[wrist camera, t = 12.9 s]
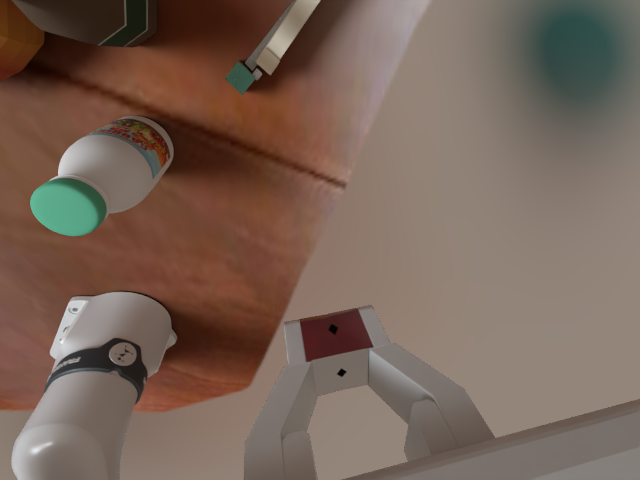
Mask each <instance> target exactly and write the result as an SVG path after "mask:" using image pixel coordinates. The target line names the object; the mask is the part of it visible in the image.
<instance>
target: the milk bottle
mask: <svg viewBox="0 0 640 480" xmlns="http://www.w3.org/2000/svg"><path fill="white" fill-rule="evenodd" d="M173 155H174V149H173V144H172V141H171V139H170V137H169V136H168V134H167V133H166V131H165V130H164V129H163V128H162V127H161V126H160V125H158V124H157V123H155V122H154V121H152V120H150V119H148V118H145V117H141V116H126V117H122V118H120V119H117V120H115V121H113V122H111V123H109V124H107V125H105V126H103V127H101V128H99V129H97V130H96V131H94V132H92V133H90V134H88V135H86V136H84V137H83V138H81V139H79V140H78V141H76V142H75V143H74V144H72V145H71V146H70V147H69V148H68V149H67V150H66V152H65V153H64V155H63V157H62V158H61V161H60V164H59V170H58V176H57V177H54V178H52V179H51V180H49V181H48V182H46V183H44V184H43V185H41V186H40V187H39V188H37V189H36V190H35V191H34V193H33V195H32V197H31V201H30V205H31V209H32V212H33V214H34V215H35V217H36V218H37V219H38V220H39V221H40V222H41V223H42V224H43V225H44V226H46V227H47V228H49V229H50V230H52V231H55V232H57V233H60V234H63V235H68V236H81V235H85V234H88V233H90V232H92V231H94V230H95V229H97V228H98V227H99V226H100V225H101V223H102V222H103V221H104V220H105V219H106V218H107V216H108V214H109V213H117V212H121V211H125V210H127V209H130V208H132V207H134V206H135V205H137V204H138V203H140V202H141V201H142V200H143V199H144V198H145V197H146V196H147V195H148V194H149V193H150V191H151V190H152V189H153V187H154V186H155V185H156V184H157V182H158V181H159V180H160V178H161V177H162V175H163V174H164V173H165V171H166V170H167V168H168V167H169V166H170V164H171V162H172V160H173Z"/></svg>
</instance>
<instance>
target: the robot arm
mask: <svg viewBox="0 0 640 480" xmlns="http://www.w3.org/2000/svg"><path fill="white" fill-rule="evenodd" d="M299 321H300V322H299ZM284 333H285V342H286V351H287V359H288V366H287V367H284V368H283V370H282V372H281V374H280V375H279V377H278V379H277V381H276V383H275V385H274V387H273V389H272V391H271V393H270V395H269V397H268V398H267V400H266V402H265V404H264V406H263V408H262V410H261V412H260V414H259V416H258V418H257V420H256V422H255V424H254V425H253V428H252V429H251V431H250V433H249V435H248V437H247V439H246V441H245V453H244V454H245V455H244V480H318V478H317V472H316V467H315V462H314V457H313V451H312V446H311V441H310V436H309V433H307V432H306V431H307V428H308V425H309V422H310V419H311V416H312V413H313V410H314V407H315V404H316V401H317V396H320V395H324V394H328V393H331V392H336V391H339V390H343V389H348V388H353V387H358V386H363V385H369V387H370V388H371V389H372V390H373V391H374V392H375V393H376V394H378V396H380V398H382V400H383V401H385V402H386V403H387V404H388V405H389V406H390V407H391V408H392V409H393V410H394V411H395V412H396V413H397V414H398V415H399V416H400V417H401V418H402V419H403V420H404V421H405V422H406V423H407V424H408V431H407V436H406V441H405V446H404V452H405V454H406V457H407V460H408V462H405V463H402V464H398V465H394V466H390V467H387V468H383V469H380V470H376V471H372V472H368V473H365V474H361V475H358V476H354V477H350V478H346V479H343V480H640V399H638V400H634V401H631V402H627V403H623V404H619V405H616V406H612V407H608V408H605V409H601V410H597V411H594V412H590V413H587V414H583V415H579V416H575V417H571V418H568V419H564V420H560V421H557V422H553V423H549V424H546V425H542V426H538V427H535V428H531V429H527V430H523V431H520V432H516V433H512V434H509V435H505V436H501V437H498V438H495V437H494V435H493V433H492V432H491V430H490V429H489V427H488V426H487V424H486V422H485V421H484V419H483V418H482V416H481V415H480V413H479V411H478V410H477V408H476V407H475V405H474V404H473V402H472V400H471V399H470V397H469V395H468V394H467V392H466V391H465V389H464V388H462V387H461V386H459V385H458V384H456V383H454V382H453V381H452V380H450V379H449V378H447V377H446V376H444V375H443V374H441V373H440V372H438V371H437V370H435V369H433V368H432V367H431V366H429V365H428V364H426V363H425V362H423V361H422V360H420V359H419V358H417V357H416V356H414V355H413V354H411V353H410V352H408V351H406V350H405V349H404V348H402V347H401V346H399V345H398V344H396V343H392V344H391V342H390V340H389V338H388V337H387V334H386V332H385V330H384V328H383V326H382V324H381V322H380V320H379V318H378V316H377V314H376V312H375V309H374V307H373V306H372V305H368V306H364V307H359V308H353V309H349V310H344V311H339V312H334V313H330V314H327V315H321V316H315V317H309V318H304V319H300V320H294V321H288V322H284ZM176 340H177V335H176V334H175V332H174V331H173V330H172V327H171V318H170V315H169V313H168V312H167V310H166V309H165V308H164V307H163V306H162V305H161V304H159V303H158V302H156V301H155V300H153V299H151V298H149V297H146V296H144V295H140V294H136V293H130V292H111V293H106V294H102V295H98V296H93V297H92V296H76V297H73V298H71V300H70V301H69V303H68V306H67V308H66V311H65V314H64V316H63V319H62V321H61V324H60V327H59V329H58V332H57V335H56V337H55V340H54V342H53V345H52V348H51V350H50V355H51V356H52V357H53V358H55V359H56V361H55V364H54V366H53V369H52V372H51V375H50V377H49V378H48V381H47V384H46V386H45V390H44V393H45V394H44V395H43V397H42V399H41V400H40V402H39V403H38V405H37V407H36V408H35V410H34V412H33V413H32V415H31V417H30V418H29V420H28V422H27V423H26V425H25V427H24V428H23V430H22V431H21V433H20V435H19V436H18V438H17V440H16V442H15V444H14V448H13V452H12V468H13V471H14V473H15V475H16V477H17V478H18V480H119V478H120V477H119V475H120V473H119V472H120V459H121V453H122V448H123V444H124V441H125V437H126V433H127V429H128V426H129V422H130V419H131V416H132V412H133V409H134V406H135V404H136V403H137V402H138V401H139V399H140V397H141V395H142V393H143V391H144V388H145V385H146V380H147V378H148V377H150V376H152V375H153V374H154V373H156V372H157V371H158V369H159V367H160V364H161V361H162V359H163V356H164V353H165V351H166V349H168V348H169V347H171V346H172V345H174V344H175V343H176Z"/></svg>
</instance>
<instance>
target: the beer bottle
mask: <svg viewBox="0 0 640 480" xmlns="http://www.w3.org/2000/svg"><path fill="white" fill-rule="evenodd" d="M12 1H13V2H14V3H15V4H16V6H17V7H18V8H19V9H20V10H21V11H22V12H23V13H24V14H25V15H26V16H27V18H28V19H29V20H30V21H31V22H32V23H34V24H35V25H36V26H37V27H38V28H40V29H41V30H43V31H46V32H50V33H53V34H57V35H60V36H64V37H67V38H71V39H74V40H78V41H81V42H85V43H89V44H93V45H97V46H117V47H136V46H138V45H140V44H141V43H142V42H144V41H145V40H146V39H148V38H149V37H151V36H152V35H153V34H155V33H156V32H157V16H158V0H12Z"/></svg>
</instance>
